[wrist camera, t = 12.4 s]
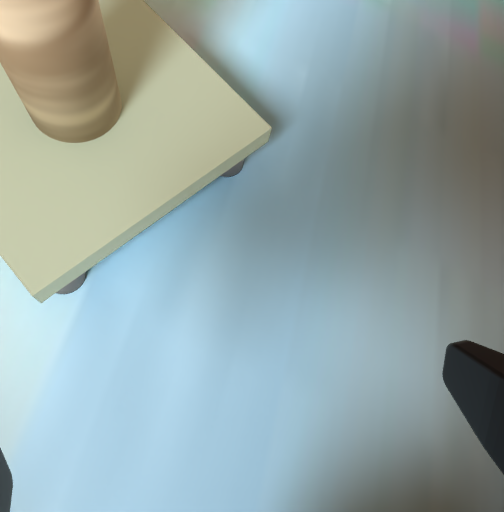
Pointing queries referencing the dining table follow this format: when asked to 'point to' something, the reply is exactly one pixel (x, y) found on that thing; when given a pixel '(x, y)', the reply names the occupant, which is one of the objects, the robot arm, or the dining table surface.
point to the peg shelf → (117, 155)
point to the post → (61, 66)
